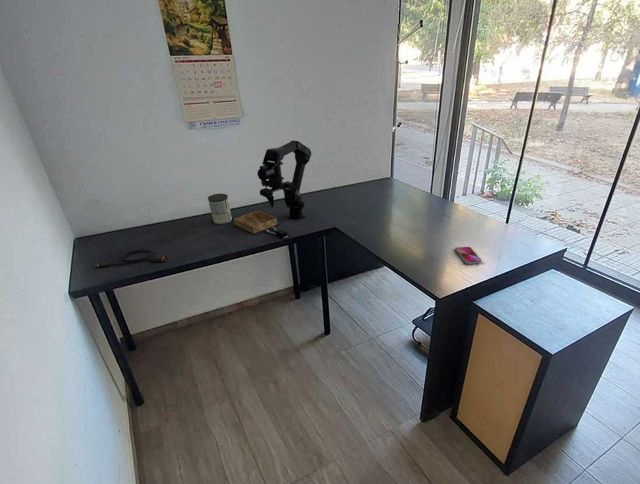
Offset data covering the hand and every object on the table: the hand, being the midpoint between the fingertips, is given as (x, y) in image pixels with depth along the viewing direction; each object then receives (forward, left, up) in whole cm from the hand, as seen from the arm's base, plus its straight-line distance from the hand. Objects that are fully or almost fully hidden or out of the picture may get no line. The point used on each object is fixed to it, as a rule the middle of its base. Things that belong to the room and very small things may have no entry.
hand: (279, 204), depth 201 cm
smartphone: (-33, +93, -12) cm, 99 cm away
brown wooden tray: (+8, -12, -12) cm, 19 cm away
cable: (+68, -24, -12) cm, 73 cm away
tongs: (+8, +6, -12) cm, 16 cm away
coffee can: (+17, -31, -12) cm, 37 cm away
